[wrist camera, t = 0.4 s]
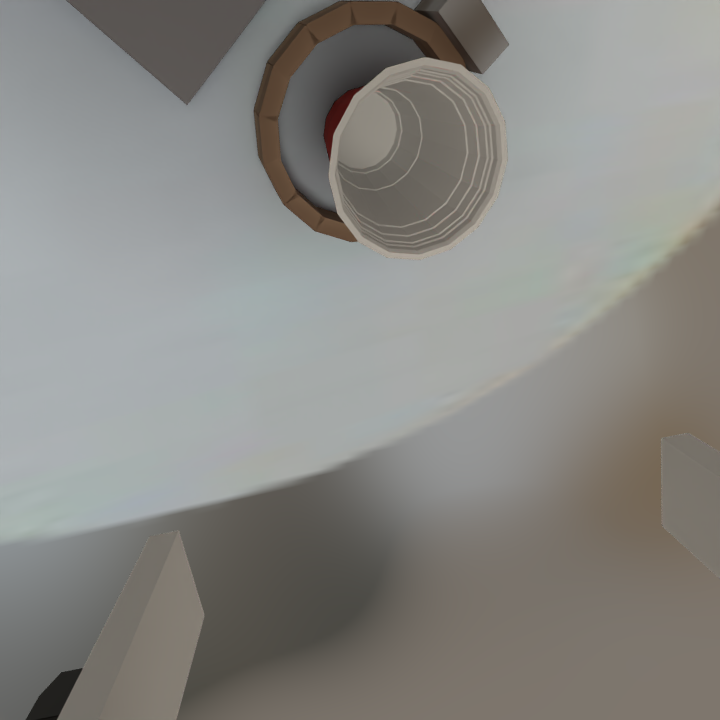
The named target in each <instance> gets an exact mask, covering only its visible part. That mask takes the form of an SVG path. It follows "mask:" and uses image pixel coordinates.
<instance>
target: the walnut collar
mask: <svg viewBox="0 0 720 720" xmlns="http://www.w3.org/2000/svg"><path fill="white" fill-rule="evenodd" d="M380 24H384V25H386V26H388V27H390V28H392V29H394V30H396V31H398V32H400V33H402V34H404V35H405V36H407V37H409V38H411V39H413V40H414V41H415V43H416V44H417V45H418V47H419V48H420V49H421V51H422V52H423V53H424V55H425V56H426V57H427V58H432V59H437V60H441V61H446V62H451V63H456V64H461V65H462V66H463V67H465V68H466V69H467V70H468V71H471V72H475V73H479V74H483V73H484V72H485V71H486V70H487V69H488V68H489V67H490V66H491V64H492V63H493V62H494V61H495V60H496V59H497V58H498V57H499V55H500V54H501V53H502V52H503V51H504V50H505V49H506V48H507V46H508V45H509V43H508V42H507V40H506V39H505V37H504V35H503V34H502V32H501V31H500V29H499V28H498V26H497V25H496V23H495V21H494V20H493V18H492V17H491V15H490V14H489V12H488V11H487V9H486V7H485V6H484V4H483V3H482V1H481V0H422V1H421V2H420V4H419V5H418V6H417V7H416V9H415V11H414V10H412V9H410V8H408V7H407V6H405V5H403V4H401V3H399V2H392V1H339V2H337V3H335V4H333V5H331V6H329V7H327V8H325V9H323V10H321V11H320V12H318V13H316V14H314V15H312V16H310V17H308V18H306V19H304V20H302V21H300V22H298V23H297V24H296V25H295V27H294V28H293V29H292V31H291V32H290V33H289V34H288V36H287V37H286V38H285V40H284V41H283V42H282V43H281V45H280V46H279V47H278V49H277V50H276V51H275V52H274V54H273V55H272V56H271V58H270V59H269V60H268V61H267V62H268V63H267V64H266V68H265V71H264V75H263V78H262V82H261V86H260V89H259V93H258V96H257V100H256V103H255V107H254V117H255V127H256V137H257V148H258V156H259V159H260V161H261V163H262V165H263V166H264V168H265V170H266V172H267V174H268V176H269V178H270V180H271V182H272V184H273V186H274V188H275V190H276V192H277V194H278V196H279V197H280V199H281V201H282V203H283V204H284V205H285V206H286V207H287V208H288V209H289V210H290V211H292V212H293V213H294V214H295V215H296V216H298V217H299V218H300V219H301V220H302V221H303V222H305V223H306V224H307V225H308V226H309V227H311V228H312V229H313V230H314V231H316V232H319V233H323V234H326V235H329V236H333V237H336V238H340V239H343V240H346V241H350V242H351V241H352V242H357V239H356V238H355V237H354V235H353V234H352V232H351V231H350V230H349V228H348V227H347V226H346V224H345V223H344V222H343V220H342V219H341V218H340V216H339V215H338V214H337V213H335V212H332V211H329V210H325V209H322V208H319V207H316V206H315V205H314V204H312V203H311V202H310V201H309V200H308V199H307V198H306V197H304V196H303V195H302V194H301V193H300V192H299V191H298V190H297V189H295V188H294V186H293V184H292V182H291V180H290V178H289V176H288V174H287V172H286V170H285V168H284V166H283V164H282V162H281V155H280V142H279V129H278V117H279V114H280V110H281V107H282V104H283V100H284V97H285V94H286V90H287V87H288V84H289V80H290V77H291V76H292V75H293V74H294V72H295V71H296V70H297V69H298V67H299V66H300V65H301V64H302V62H303V61H304V60H305V59H306V57H307V56H308V55H309V54H310V52H311V51H312V50H313V49H314V47H315V46H316V45H317V44H318V43H320V42H322V41H324V40H326V39H327V38H329V37H331V36H333V35H335V34H337V33H339V32H341V31H343V30H345V29H347V28H349V27H351V26H353V25H380Z"/></svg>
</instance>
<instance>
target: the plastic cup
mask: <svg viewBox="0 0 720 720" xmlns="http://www.w3.org/2000/svg"><path fill="white" fill-rule="evenodd" d="M324 139H325V144H326V148H327V153H328V156H329V161H330V166H329V174H328V177H329V181H330V185H331V189H332V193H333V197H334V201H335V206H336V210H337V214H338V215H339V216H340V218H341V219H342V220H343V222H344V223H345V224H346V226H347V227H348V228H349V230H350V231H351V232H352V234H353V235H354V237H355V238H356V239H357V241H358V242H359V243H361V244H363V245H365V246H367V247H369V248H370V249H372V250H374V251H376V252H378V253H380V254H381V255H383V256H385V257H387V258H398V259H412V260H421V259H424V258H427V257H430V256H433V255H436V254H439V253H442V252H445V251H447V250H450V249H452V248H453V247H454V246H456V245H457V244H458V243H459V242H461V241H462V240H463V239H464V238H466V237H467V236H468V235H469V234H470V233H472V232H473V231H474V230H475V229H477V228H478V227H479V225H480V224H481V222H482V220H483V219H484V217H485V216H486V214H487V213H488V211H489V210H490V208H491V206H492V205H493V203H494V202H495V200H496V199H497V197H498V194H499V191H500V187H501V183H502V179H503V176H504V172H505V168H506V164H507V161H508V157H507V142H506V127H505V120H504V118H503V116H502V114H501V112H500V110H499V108H498V106H497V103H496V101H495V99H494V97H493V95H492V93H491V91H490V89H489V87H487V86H486V85H485V84H484V83H483V82H481V81H480V80H479V79H478V78H477V77H475V76H474V75H473V74H472V73H471V72H469V71H468V70H467V69H466V68H465V67H463V66H462V65H461V64H456V63H451V62H446V61H441V60H437V59H432V58H427V57H423V58H419V59H416V60H412V61H409V62H405V63H402V64H398V65H395V66H391V67H387V68H386V69H384V70H383V71H382V72H381V73H380V74H379V75H377V76H376V77H375V78H374V79H373V80H372V81H370V82H369V83H368V84H367V85H366V86H363V87H359V88H356V89H352V90H349V91H347V92H346V93H345V94H344V95H342V96H341V97H340V98H339V99H338V100H336V101H335V102H334V104H333V106H332V108H331V110H330V112H329V113H328V115H327V117H326V122H325V129H324Z"/></svg>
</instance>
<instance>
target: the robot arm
mask: <svg viewBox="0 0 720 720" xmlns="http://www.w3.org/2000/svg"><path fill="white" fill-rule="evenodd" d="M661 468H662V469H661V472H662V473H661V474H662V475H661V479H662V526H663V527H664V528H665V529H666V530H667V531H668V532H670V534H671V535H672V536H674V537H675V538H676V539H677V540H678V541H679V542H680V543H681V544H682V545H683V546H684V547H685V548H687V549H688V550H689V551H690V552H691V553H692V554H693V555H694V556H695V557H696V558H698V559H699V560H700V561H701V562H702V563H703V564H704V565H705V566H706V567H708V569H709V570H711V571H712V572H713V573H714V574H715V575H716V576H717V577H718V578H719V579H720V452H719V451H718V450H716V449H714V448H712V447H711V446H709V445H707V444H706V443H704V442H703V441H701V440H699V439H698V438H696V437H694V436H693V435H691V434H689V433H686V434H680V435H676V436H670V437H665V438H661ZM203 619H204V612H203V609H202V606H201V602H200V599H199V596H198V592H197V589H196V586H195V582H194V579H193V576H192V572H191V569H190V566H189V563H188V559H187V556H186V553H185V549H184V546H183V543H182V539H181V536H180V533H179V530H178V531H173V532H168V533H162V534H157V535H152V536H149V538H148V540H147V542H146V544H145V546H144V548H143V550H142V553H141V554H140V556H139V558H138V561H137V562H136V564H135V566H134V568H133V570H132V572H131V574H130V576H129V578H128V580H127V582H126V584H125V586H124V588H123V590H122V592H121V594H120V596H119V598H118V600H117V602H116V604H115V606H114V608H113V610H112V612H111V614H110V616H109V618H108V620H107V622H106V624H105V626H104V628H103V630H102V632H101V633H100V635H99V638H98V639H97V641H96V644H95V645H94V647H93V649H92V651H91V654H90V655H89V658H88V659H87V661H86V663H85V665H84V667H83V668H81V669H76V670H72V671H66V672H61V673H60V674H59V676H58V677H57V678H56V679H55V680H54V681H53V682H52V683H51V684H50V685H49V686H48V687H47V689H45V690H44V692H43V693H42V694H41V695H40V696H39V698H38V700H37V701H36V703H35V704H34V706H33V708H32V710H31V712H30V713H29V715H28V717H27V719H26V720H176V718H177V715H178V711H179V707H180V704H181V700H182V696H183V693H184V689H185V685H186V682H187V678H188V674H189V671H190V667H191V663H192V660H193V656H194V652H195V649H196V645H197V641H198V638H199V634H200V630H201V627H202V623H203Z"/></svg>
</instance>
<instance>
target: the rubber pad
mask: <svg viewBox="0 0 720 720" xmlns="http://www.w3.org/2000/svg"><path fill="white" fill-rule="evenodd" d="M66 1H67V2H69V3H70V4H71V5H72V6H73V7H74V8H76V9H77V10H78V11H79V12H80V13H81V14H83V15H84V16H85V17H86V18H87V19H88V20H89V21H91V22H92V23H93V24H94V25H95V26H96V27H98V28H99V29H100V30H101V31H102V32H103V33H104V34H106V35H107V36H108V37H109V38H110V39H111V40H113V41H114V42H115V43H116V44H117V45H118V46H119V47H121V48H122V49H123V50H124V51H125V52H126V53H128V54H129V55H130V56H131V57H132V58H133V59H135V60H136V61H137V62H138V63H139V64H140V65H141V66H143V67H144V68H145V69H146V70H147V71H148V72H150V73H151V74H152V75H153V76H154V77H155V78H156V79H158V80H159V81H160V82H161V83H162V84H163V85H165V86H166V87H167V88H168V89H169V90H170V91H171V92H173V93H174V94H175V95H176V96H177V97H178V98H180V99H181V100H182V101H183V102H184V103H185V104H187V105H188V103H189V102H190V101H191V99H192V98H193V97H194V95H195V94H196V93H197V91H198V90H199V89H200V87H201V86H202V85H203V83H204V82H205V81H206V79H207V78H208V77H209V75H210V74H211V73H212V71H213V70H214V69H215V67H216V66H217V65H218V63H219V62H220V61H221V59H222V58H223V57H224V55H225V54H226V53H227V51H228V50H229V49H230V47H231V46H232V45H233V43H234V42H235V41H236V40H237V38H238V37H239V36H240V34H241V33H242V32H243V30H244V29H245V28H246V26H247V25H248V24H249V22H250V21H251V20H252V18H253V17H254V16H255V14H256V13H257V12H258V10H259V9H260V8H261V6H262V5H263V4H264V2H265V1H266V0H66Z"/></svg>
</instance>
